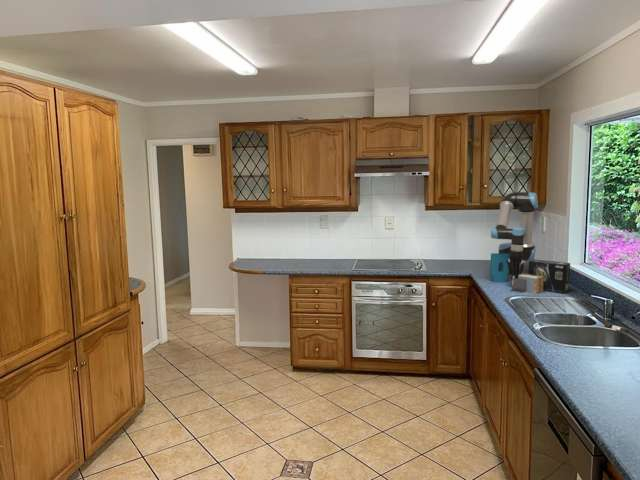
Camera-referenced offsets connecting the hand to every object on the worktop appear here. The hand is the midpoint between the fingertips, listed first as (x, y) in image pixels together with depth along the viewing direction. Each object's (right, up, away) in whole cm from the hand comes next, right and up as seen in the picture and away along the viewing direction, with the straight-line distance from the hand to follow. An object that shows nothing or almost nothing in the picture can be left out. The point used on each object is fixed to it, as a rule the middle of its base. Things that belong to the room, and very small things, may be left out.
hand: (514, 285), depth 310 cm
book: (+6, -3, -7) cm, 10 cm away
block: (-2, 0, +21) cm, 21 cm away
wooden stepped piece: (+5, -3, -5) cm, 8 cm away
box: (+21, -3, -4) cm, 21 cm away
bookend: (-1, -3, -8) cm, 9 cm away
